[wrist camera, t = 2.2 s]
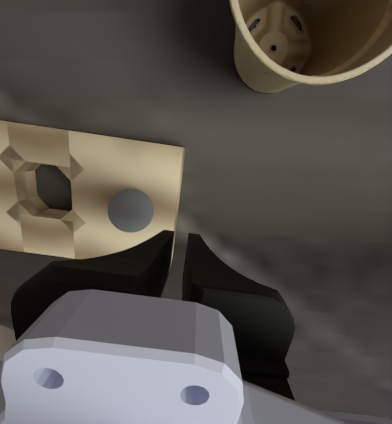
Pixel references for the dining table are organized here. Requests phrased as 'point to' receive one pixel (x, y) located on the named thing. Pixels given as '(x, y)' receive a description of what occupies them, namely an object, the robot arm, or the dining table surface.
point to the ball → (130, 210)
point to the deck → (82, 189)
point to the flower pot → (309, 40)
